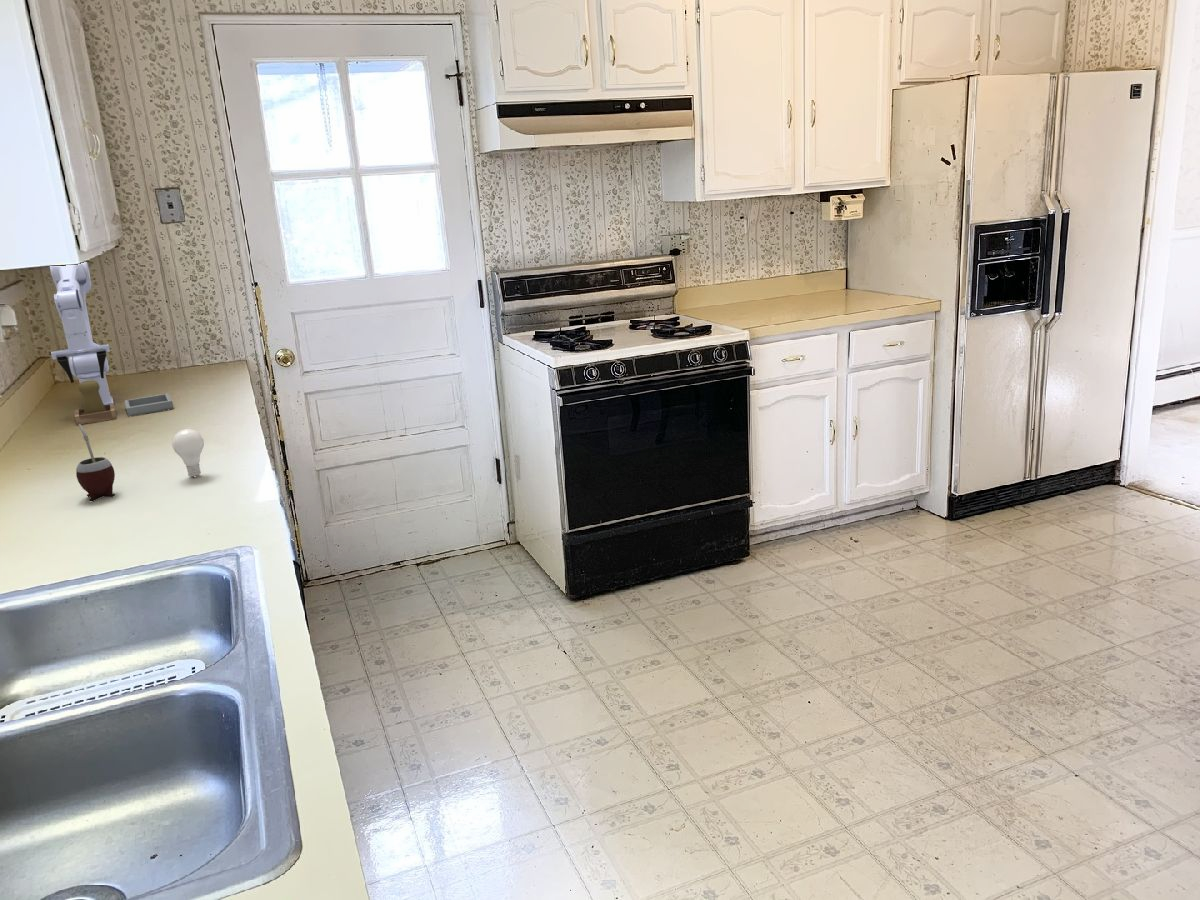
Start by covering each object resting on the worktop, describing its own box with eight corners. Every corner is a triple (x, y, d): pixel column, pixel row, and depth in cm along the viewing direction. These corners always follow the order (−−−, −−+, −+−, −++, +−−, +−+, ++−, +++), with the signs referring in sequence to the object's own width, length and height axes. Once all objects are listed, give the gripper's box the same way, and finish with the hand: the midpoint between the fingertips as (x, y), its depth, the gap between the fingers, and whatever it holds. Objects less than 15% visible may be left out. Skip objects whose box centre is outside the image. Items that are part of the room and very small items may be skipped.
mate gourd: (104, 502, 190) (87, 433, 185) (71, 502, 191) (53, 434, 187) (127, 489, 197) (112, 423, 192) (95, 489, 198) (79, 423, 194)
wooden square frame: (76, 418, 262) (74, 409, 261) (115, 411, 266) (113, 403, 265) (76, 425, 253) (74, 416, 253) (116, 418, 258) (114, 410, 257)
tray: (126, 408, 269) (124, 400, 268) (170, 401, 275) (168, 393, 274) (128, 416, 259) (126, 408, 258) (173, 409, 265) (171, 401, 264)
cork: (112, 415, 262) (104, 378, 259) (99, 421, 257) (90, 383, 253) (93, 415, 263) (84, 379, 260) (80, 421, 257) (70, 384, 254)
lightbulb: (215, 475, 203) (205, 428, 199) (187, 483, 198) (177, 435, 195) (202, 470, 207) (192, 423, 203) (174, 478, 202) (164, 431, 199)
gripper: (46, 338, 250) (58, 386, 254) (105, 331, 257) (116, 378, 261) (47, 335, 256) (59, 382, 260) (104, 328, 263) (115, 374, 267)
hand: (87, 380), depth 261 cm, fingers open, 7 cm apart
